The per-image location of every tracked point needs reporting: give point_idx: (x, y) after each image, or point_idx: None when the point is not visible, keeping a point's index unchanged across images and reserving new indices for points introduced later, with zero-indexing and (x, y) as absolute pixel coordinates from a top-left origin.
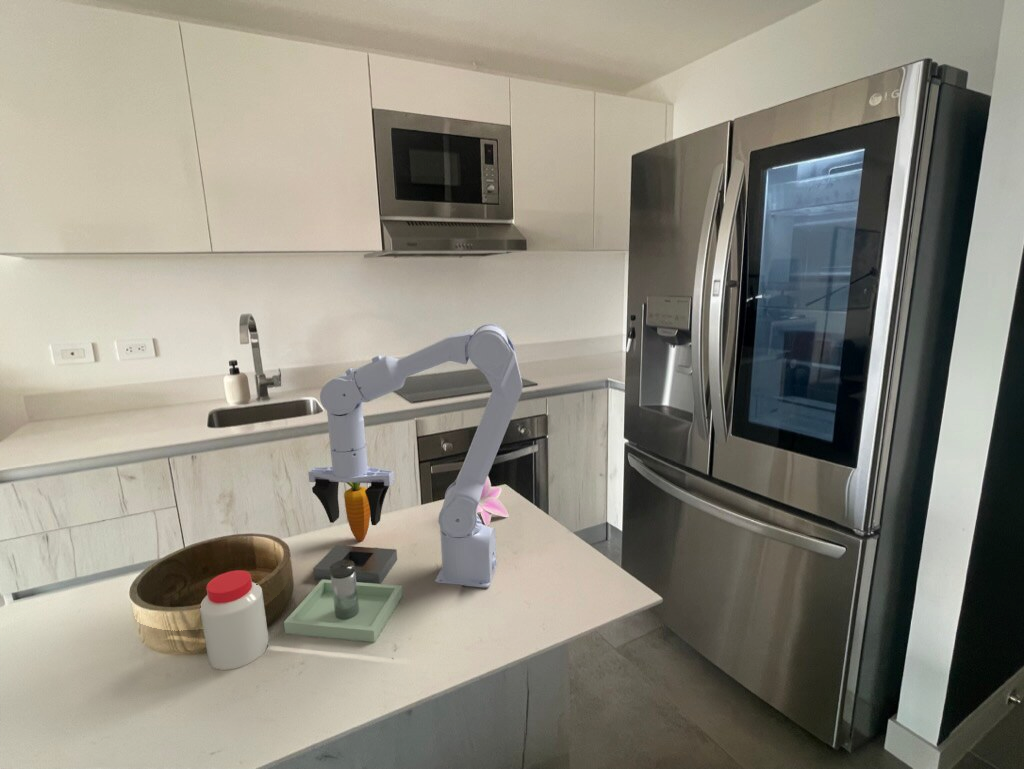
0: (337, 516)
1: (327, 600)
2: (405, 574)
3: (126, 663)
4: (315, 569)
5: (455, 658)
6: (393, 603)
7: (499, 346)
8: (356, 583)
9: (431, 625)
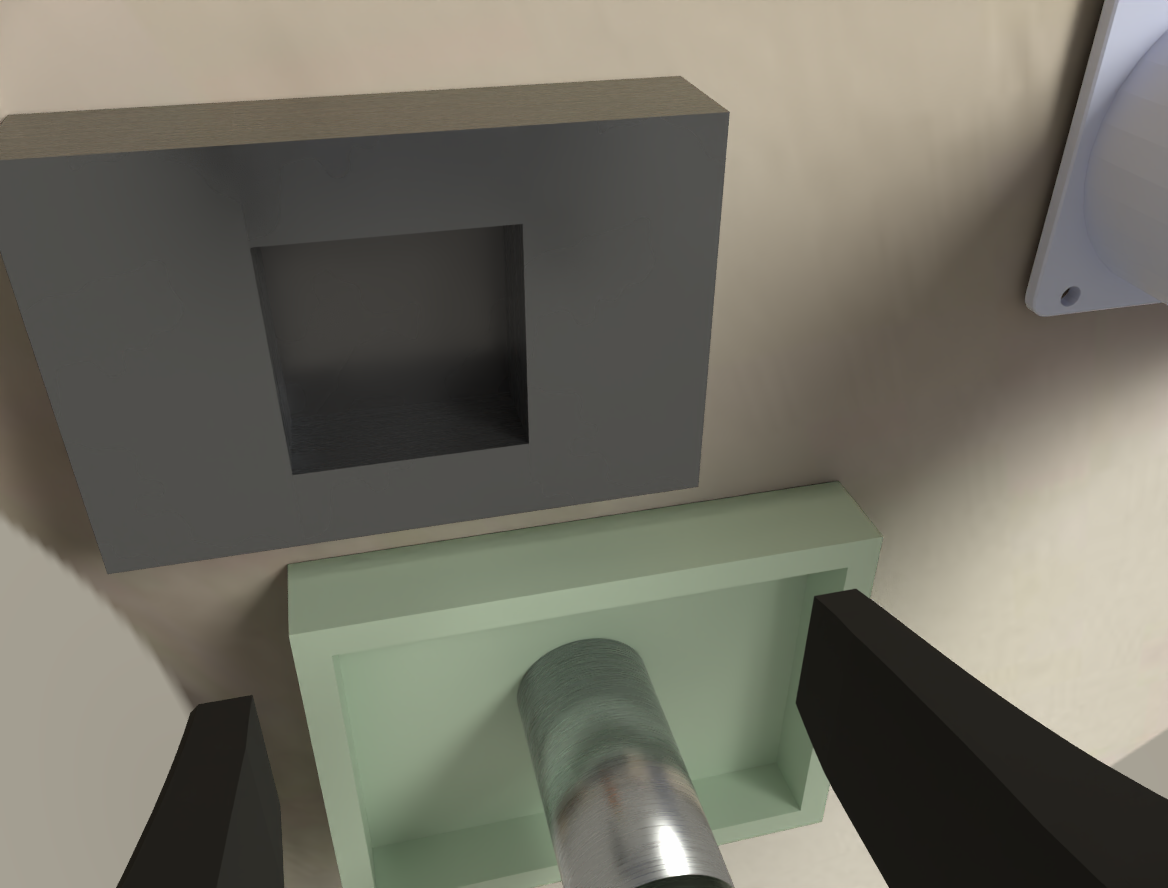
0: (261, 756)
1: (402, 652)
2: (795, 237)
3: None
4: (133, 568)
5: (1105, 706)
6: None
7: None
8: (693, 791)
9: (1011, 599)
